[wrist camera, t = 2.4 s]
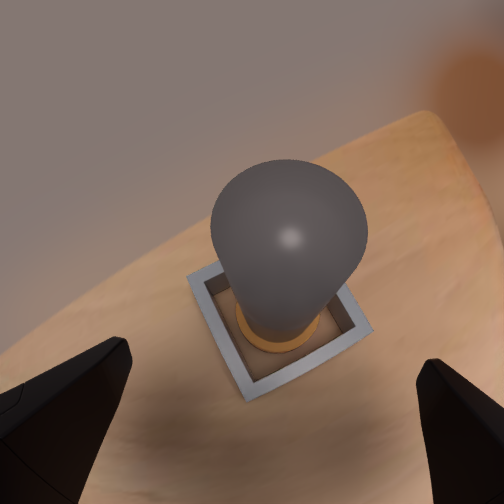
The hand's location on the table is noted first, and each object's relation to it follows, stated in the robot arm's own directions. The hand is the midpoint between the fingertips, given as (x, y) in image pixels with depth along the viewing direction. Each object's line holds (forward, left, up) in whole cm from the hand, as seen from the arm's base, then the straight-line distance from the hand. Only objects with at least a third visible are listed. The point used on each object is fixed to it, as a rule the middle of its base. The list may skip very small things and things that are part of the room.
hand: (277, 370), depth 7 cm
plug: (+2, +3, -10) cm, 11 cm away
